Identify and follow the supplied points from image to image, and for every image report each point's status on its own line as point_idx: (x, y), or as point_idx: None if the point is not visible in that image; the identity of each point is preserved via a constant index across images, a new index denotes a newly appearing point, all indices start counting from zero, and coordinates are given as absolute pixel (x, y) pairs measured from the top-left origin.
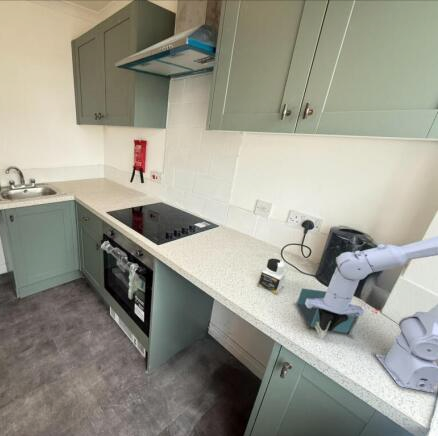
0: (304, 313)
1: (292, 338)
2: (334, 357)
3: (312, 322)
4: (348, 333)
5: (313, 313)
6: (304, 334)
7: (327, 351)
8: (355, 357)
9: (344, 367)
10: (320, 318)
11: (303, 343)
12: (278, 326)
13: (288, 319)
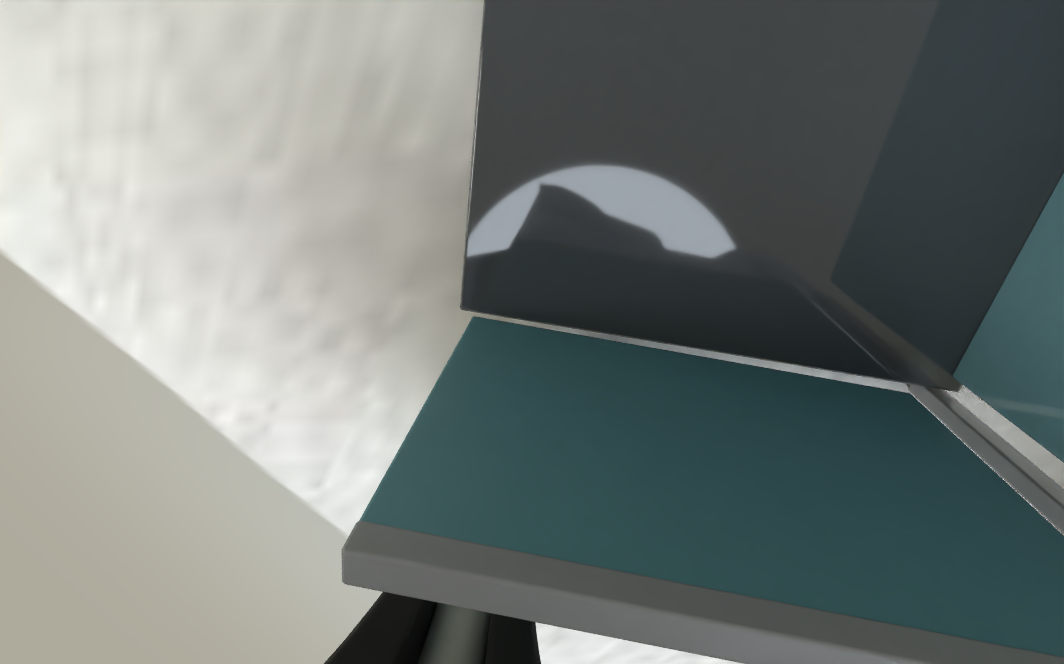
0: (521, 33)
1: (238, 431)
2: None
3: (454, 353)
4: (928, 392)
5: (695, 11)
6: (376, 384)
7: None
8: None
9: (548, 649)
10: (348, 661)
11: (323, 478)
12: (124, 291)
13: (262, 161)
